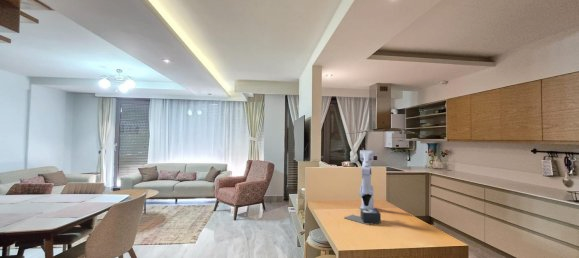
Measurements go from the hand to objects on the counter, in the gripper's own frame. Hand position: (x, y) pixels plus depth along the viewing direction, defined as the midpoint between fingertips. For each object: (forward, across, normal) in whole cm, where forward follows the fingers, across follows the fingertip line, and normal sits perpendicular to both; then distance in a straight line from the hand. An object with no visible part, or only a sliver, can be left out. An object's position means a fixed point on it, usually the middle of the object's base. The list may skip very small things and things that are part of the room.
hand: (366, 205), depth 168 cm
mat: (+8, -8, 0) cm, 11 cm away
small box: (+4, 0, -2) cm, 5 cm away
